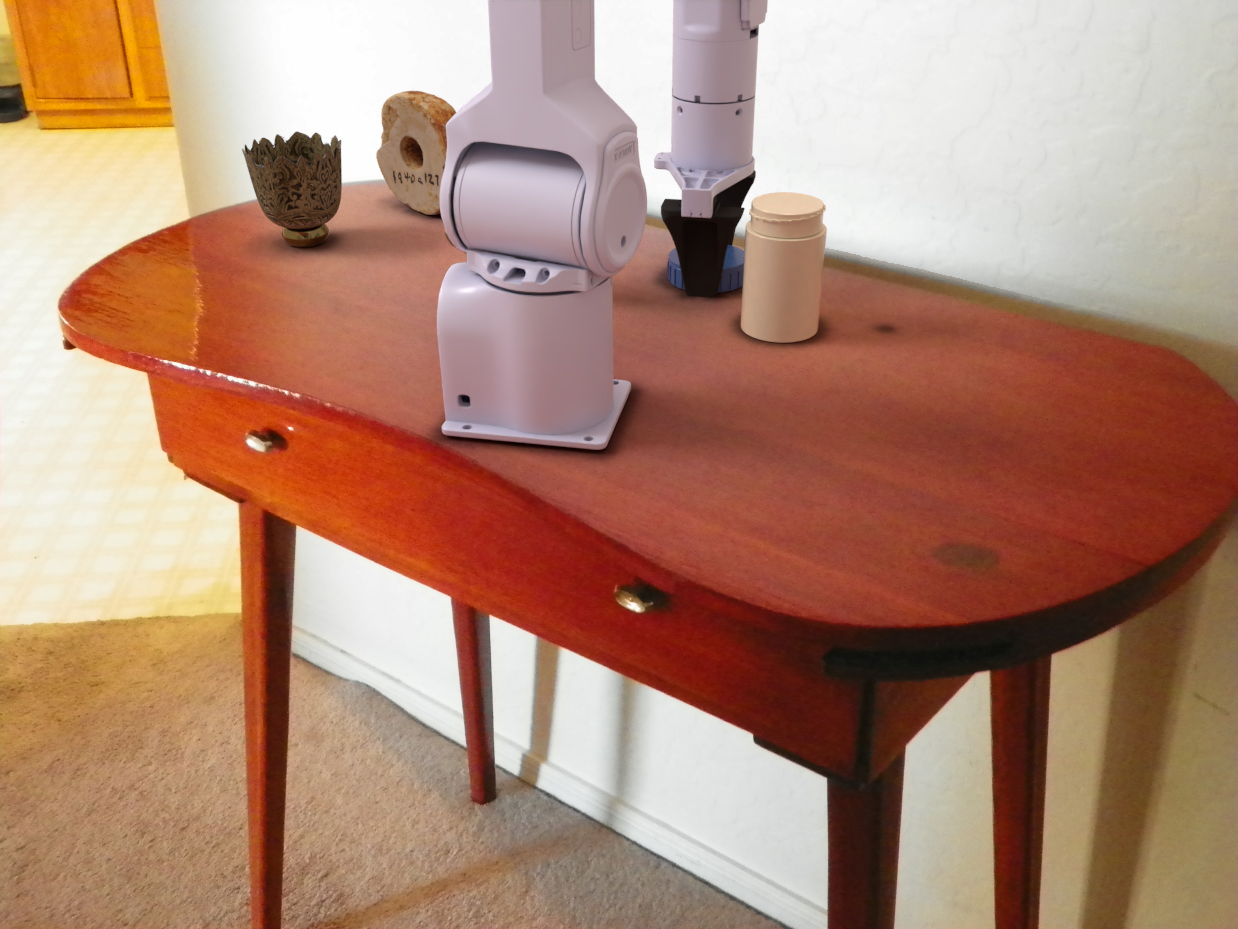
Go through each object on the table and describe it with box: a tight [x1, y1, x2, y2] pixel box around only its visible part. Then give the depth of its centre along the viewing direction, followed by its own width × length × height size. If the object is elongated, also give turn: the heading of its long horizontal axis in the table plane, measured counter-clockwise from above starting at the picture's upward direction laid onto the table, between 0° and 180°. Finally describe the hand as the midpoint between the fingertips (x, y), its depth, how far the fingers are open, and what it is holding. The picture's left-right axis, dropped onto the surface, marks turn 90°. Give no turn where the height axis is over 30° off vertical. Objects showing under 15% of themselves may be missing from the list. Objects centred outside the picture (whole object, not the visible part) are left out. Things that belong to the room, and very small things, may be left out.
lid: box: [666, 245, 744, 294], centre depth 84 cm, size 6×6×2 cm
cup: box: [241, 131, 343, 248], centre depth 90 cm, size 8×7×8 cm
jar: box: [740, 191, 828, 344], centre depth 75 cm, size 5×5×9 cm
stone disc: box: [375, 90, 457, 216], centre depth 97 cm, size 10×4×10 cm, turn 45°
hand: (707, 281), depth 85 cm, fingers closed on lid, 6 cm apart
